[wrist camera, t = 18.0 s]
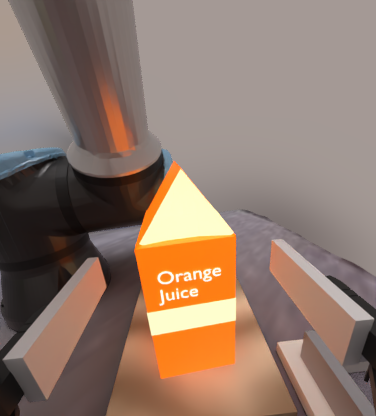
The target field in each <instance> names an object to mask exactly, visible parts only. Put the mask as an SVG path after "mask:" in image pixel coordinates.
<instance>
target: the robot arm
mask: <svg viewBox="0 0 376 416" xmlns="http://www.w3.org/2000/svg"><path fill="white" fill-rule="evenodd" d="M8 1H9V3H10V5H11V7H12V9H13V11H14V14H15V16H16V18H17V20H18V22H19V24H20V27H21V29H22V31H23V33H24V35H25V37H26V39H27V42H28V44H29V46H30V48H31V50H32V52H33V54H34V56H35V59H36V61H37V63H38V65H39V67H40V69H41V71H42V74H43V76H44V78H45V80H46V82H47V84H48V86H49V88H50V91H51V93H52V95H53V97H54V99H55V101H56V103H57V105H58V108H59V110H60V112H61V114H62V116H63V118H64V121H65V123H66V125H67V127H68V129H69V131H70V133H71V135H72V138H73V141H72V143H71V145H70V146H69V148H68V150H67V154H66V153H65V152H64V151H63V150H62V149H61V148H39V149H32V150H26V151H16V152H10V153H4V154H0V271H1V285H2V296H3V299H2V301H1V313H2V316H3V317H4V319H5V321H6V323H7V325H8V326H9V327H10V328H11V329H13V330H15V331H18V332H17V334H15V335H14V336H13V337H12V338H11V339H10V341H9V342H8V343H7V344H6V345H5V346H4V347H3V349H2V350H1V351H0V416H20V410H19V407H18V405H17V404H18V403H19V401H20V400H21V398H22V396H23V395H25V397H26V398H27V400H28V402H37V401H46V400H47V399H48V398H49V396H50V394H51V392H52V390H53V388H54V386H55V384H56V382H57V380H58V379H59V377H60V375H61V373H62V371H63V369H64V367H65V365H66V363H67V361H68V359H69V358H70V356H71V354H72V352H73V350H74V348H75V346H76V344H77V342H78V340H79V338H80V337H81V335H82V333H83V331H84V329H85V327H86V325H87V323H88V321H89V319H90V318H91V316H92V314H93V312H94V310H95V308H96V306H97V304H98V302H99V300H100V298H101V297H102V295H103V293H104V291H105V289H106V288H107V286H108V284H109V282H110V278H111V273H110V269H109V266H108V263H107V261H106V259H105V258H103V256H102V255H101V253H100V252H99V251H98V249H97V248H96V247H95V246H94V244H93V243H92V242H91V240H90V238H89V235H88V233H89V232H95V231H101V230H108V229H115V228H122V227H128V226H135V225H142V223H143V220H144V216H145V213H146V210H148V208H149V206H150V204H151V203H152V201H153V199H154V197H155V195H156V193H157V191H158V190H159V188H160V186H161V184H162V182H163V180H164V178H165V176H166V175H167V173H168V171H169V169H170V167H171V165H172V163H173V161H172V158H171V155H170V153H169V152H168V151H167V150H164V149H161V143H160V141H159V139H158V138H157V137H156V136H155V135H154V134H152V133H151V132H150V131H149V130H148V126H147V119H146V118H147V117H146V109H145V101H144V92H143V84H142V76H141V67H140V59H139V51H138V42H137V35H136V26H135V18H134V10H133V1H132V0H8ZM270 271H271V273H272V274H273V275H274V277H275V278H276V279H277V281H278V282H279V283H280V285H281V286H282V287H283V289H284V290H285V291H286V292H287V294H288V295H289V296H290V298H291V299H292V300H293V302H294V303H295V304H296V306H297V307H298V308H299V310H300V311H301V312H302V314H303V315H304V316H305V318H306V319H307V320H308V322H309V323H310V324H311V326H312V327H313V328H314V330H315V331H316V332H317V334H318V335H319V336H320V338H321V339H322V340H323V342H324V343H325V344H326V345H327V347H328V348H329V349H330V351H331V352H332V353H333V355H334V356H335V357H336V359H337V360H338V361H339V363H340V364H341V365H342V366H348V365H356V364H359V362H360V359H361V356H362V355H363V357H364V358H365V359H366V360H367V361H368V362H369V363H370V364H369V366H368V369H367V371H366V374H365V378H364V381H366V382H368V380H369V378H370V383H371V389H372V396H373V402H374V408H375V415H376V309H375V308H374V307H372V306H371V305H370V304H369V303H367V302H366V301H365V300H364V299H362V298H361V297H360V296H358V295H357V294H356V293H355V292H354V291H353V290H350V288H349V287H348V286H346V285H345V284H344V283H343V282H341V281H340V280H338V279H336V278H334V277H332V276H324V275H323V274H322V273H321V272H320V271H318V270H317V269H316V268H315V267H314V266H313V265H311V264H310V263H309V262H308V261H307V260H306V259H305V258H303V257H302V256H301V255H300V254H299V253H298V252H296V251H295V250H294V249H293V248H292V247H291V246H290V245H288V244H287V243H286V242H285V241H284V240H283V239H277V240H272V247H271V259H270Z"/></svg>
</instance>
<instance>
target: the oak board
mask: <svg viewBox="0 0 376 416" xmlns="http://www.w3.org/2000/svg"><path fill="white" fill-rule="evenodd" d="M235 297H236V320H235V364H230V365H225V366H220V367H215V368H211V369H206V370H201V371H196V372H191V373H187V374H182V375H177V376H172V377H167V378H163V379H161V376H160V371H159V367H158V362H157V357H156V352H155V347H154V342H153V337H152V335H151V331H150V326H149V321H148V316H147V308H146V303H145V299H144V294H143V289H142V286H141V289H140V293H139V296H138V300H137V304H136V307H135V311H134V315H133V318H132V322H131V325H130V329H129V333H128V336H127V340H126V344H125V347H124V351H123V355H122V358H121V362H120V365H119V369H118V373H117V376H116V380H115V384H114V387H113V391H112V395H111V398H110V402H109V406H108V409H107V413H106V416H297V409H296V407H295V405H294V403H293V401H292V398H291V396H290V394H289V392H288V390H287V387H286V385H285V383H284V381H283V378H282V376H281V374H280V372H279V370H278V367H277V365H276V363H275V361H274V359H273V356H272V354H271V352H270V350H269V347H268V345H267V343H266V341H265V339H264V336H263V334H262V332H261V330H260V328H259V325H258V323H257V321H256V319H255V316H254V314H253V312H252V310H251V308H250V305H249V303H248V301H247V299H246V297H245V294H244V292H243V290H242V288H241V285H240V283H239V281H238V279H237V277H236V284H235Z"/></svg>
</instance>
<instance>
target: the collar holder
mask: <svg viewBox="0 0 376 416" xmlns="http://www.w3.org/2000/svg"><path fill="white" fill-rule="evenodd" d="M276 352H277V354H278V356H279V358H280V360H281V362H282V365H283V367H284V369H285V371H286V373H287V375H288V377H289V379H290V381H291V383H292V385H293V387H294V389H295V392H296V394H297V396H298V398H299V400H300V402H301V404H302V406H303V408H304V410H305V412H306V414H307V416H376V415H375V408H374V407H373V406H372V404H371V403H370V402H369V400H368V399H367V398H366V396H365V395H364V394H363V392H362V391H361V390H360V388H359V387H358V386H357V384H356V383H355V382H354V380H353V379H352V378H351V376H350V375H349V374H348V373H354V372H363V371H367V369H368V366H369V364H370V363H369V362H368V361H367V360H366V359H365V358H364V357H363V355H362V356H361V359H360V362H359V364H356V365H348V366H342V365H341V364H340V363H339V361H338V360H337V359H336V357H335V356H334V355H333V353H332V352H331V351H330V349H329V348H328V347H327V345H326V344H325V343H324V342H323V340H322V339H321V338H320V336H319V335H318V334H317V332H316V331H315V330H311V331H305V334H304V339H302V340H293V341H284V342H277V350H276Z"/></svg>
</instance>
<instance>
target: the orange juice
mask: <svg viewBox="0 0 376 416" xmlns="http://www.w3.org/2000/svg"><path fill="white" fill-rule="evenodd" d="M134 253H135V255H136V260H137V265H138V269H139V274H140V279H141V284H142V289H143V294H144V299H145V303H146V308H147V316H148V321H149V326H150V331H151V335H152V337H153V342H154V347H155V352H156V357H157V362H158V367H159V371H160V376H161V379H163V378H167V377H172V376H177V375H182V374H187V373H191V372H196V371H201V370H206V369H211V368H215V367H220V366H225V365H230V364H235V320H236V297H235V284H236V235H235V234H234V232H233V231H232V230H231V228H230V227H229V226H228V225H227V223H226V222H225V221H224V220H223V218H222V217H221V216H220V215H219V213H218V212H217V211H216V210H215V209H214V208H213V207H212V206H211V204H210V203H209V202H208V201H207V200H206V198H205V197H204V196H203V195H202V193H201V192H200V191H199V190H198V189H197V187H196V186H195V185H193V182H192V181H191V180H190V179H189V178H188V176H186V174H185V173H184V171H183V170H182V169H181V168H180V166H178V164H177V163H176V162H175V161H174V162H173V163H172V165H171V167H170V169H169V171H168V173H167V175H166V176H165V178H164V180H163V182H162V184H161V186H160V188H159V190H158V191H157V193H156V195H155V197H154V199H153V201H152V203H151V204H150V206H149V208H148V210H146V213H145V216H144V220H143V223H142V226H141V230H140V233H139V236H138V240H137V243H136V246H135V252H134Z"/></svg>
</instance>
